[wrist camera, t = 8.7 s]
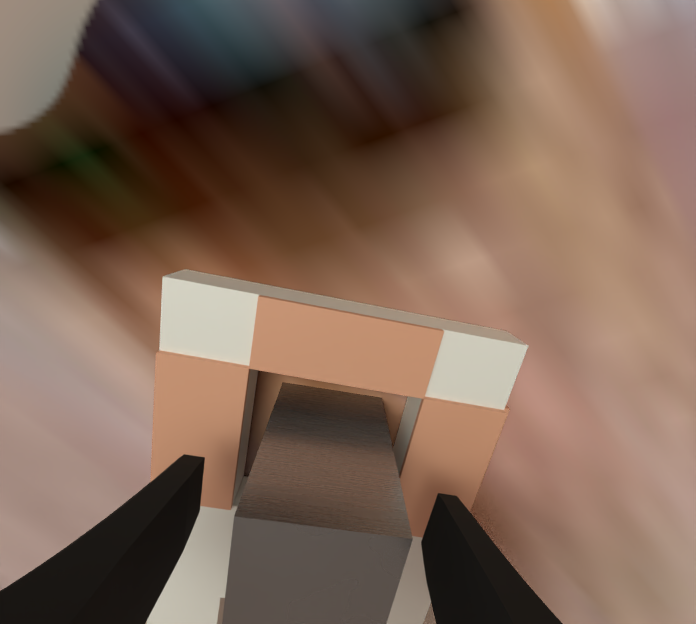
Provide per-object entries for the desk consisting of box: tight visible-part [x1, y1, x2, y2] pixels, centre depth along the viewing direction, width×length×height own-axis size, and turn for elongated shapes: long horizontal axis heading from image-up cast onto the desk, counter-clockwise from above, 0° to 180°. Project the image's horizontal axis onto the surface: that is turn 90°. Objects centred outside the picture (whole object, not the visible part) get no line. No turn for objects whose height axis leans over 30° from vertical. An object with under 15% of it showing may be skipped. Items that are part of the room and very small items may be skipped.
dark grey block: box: [222, 382, 413, 624], centre depth 11 cm, size 4×4×6 cm
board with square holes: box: [147, 269, 528, 624], centre depth 14 cm, size 12×22×2 cm, turn 169°
